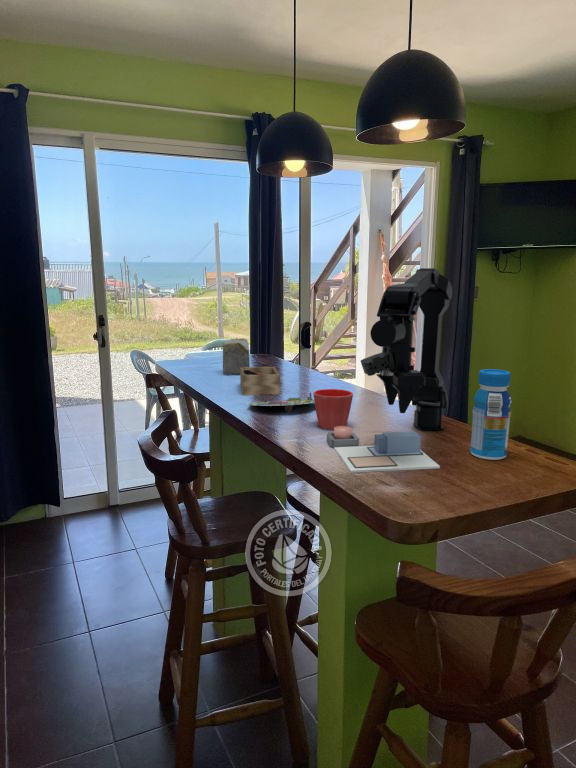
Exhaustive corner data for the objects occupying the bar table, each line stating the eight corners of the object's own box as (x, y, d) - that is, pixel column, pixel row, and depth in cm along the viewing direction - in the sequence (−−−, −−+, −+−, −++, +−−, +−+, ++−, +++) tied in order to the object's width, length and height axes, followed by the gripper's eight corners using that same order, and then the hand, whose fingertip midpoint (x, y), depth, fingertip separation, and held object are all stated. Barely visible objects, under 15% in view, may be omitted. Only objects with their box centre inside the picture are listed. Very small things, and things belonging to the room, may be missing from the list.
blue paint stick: (413, 447, 131) (414, 431, 130) (420, 452, 127) (420, 436, 126) (373, 448, 129) (374, 432, 129) (378, 454, 126) (379, 437, 125)
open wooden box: (274, 384, 208) (274, 366, 206) (279, 394, 191) (279, 374, 190) (240, 385, 206) (240, 367, 204) (243, 395, 189) (242, 375, 188)
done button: (348, 436, 138) (349, 425, 137) (353, 442, 133) (353, 430, 133) (332, 437, 137) (332, 426, 137) (335, 442, 133) (336, 431, 132)
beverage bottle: (462, 453, 128) (467, 370, 124) (482, 447, 133) (488, 366, 129) (494, 463, 121) (501, 376, 117) (514, 456, 126) (522, 371, 122)
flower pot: (327, 419, 159) (327, 386, 157) (359, 425, 152) (360, 391, 150) (305, 426, 151) (305, 392, 149) (337, 434, 144) (338, 398, 142)
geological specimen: (224, 376, 225) (223, 340, 222) (222, 373, 231) (221, 338, 228) (250, 374, 228) (249, 339, 225) (247, 372, 234) (246, 337, 231)
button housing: (352, 439, 139) (352, 431, 139) (359, 447, 133) (359, 439, 132) (325, 440, 138) (326, 432, 138) (331, 448, 132) (331, 440, 131)
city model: (308, 403, 188) (307, 385, 188) (336, 410, 166) (335, 390, 166) (238, 410, 180) (237, 392, 179) (259, 419, 158) (257, 398, 157)
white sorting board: (413, 445, 134) (413, 442, 134) (439, 468, 118) (440, 465, 118) (334, 449, 131) (334, 446, 131) (350, 472, 116) (350, 469, 116)
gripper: (354, 337, 131) (352, 400, 134) (377, 348, 113) (374, 420, 116) (398, 337, 132) (395, 399, 135) (428, 347, 114) (424, 418, 117)
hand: (396, 408), depth 126 cm, fingers open, 8 cm apart
